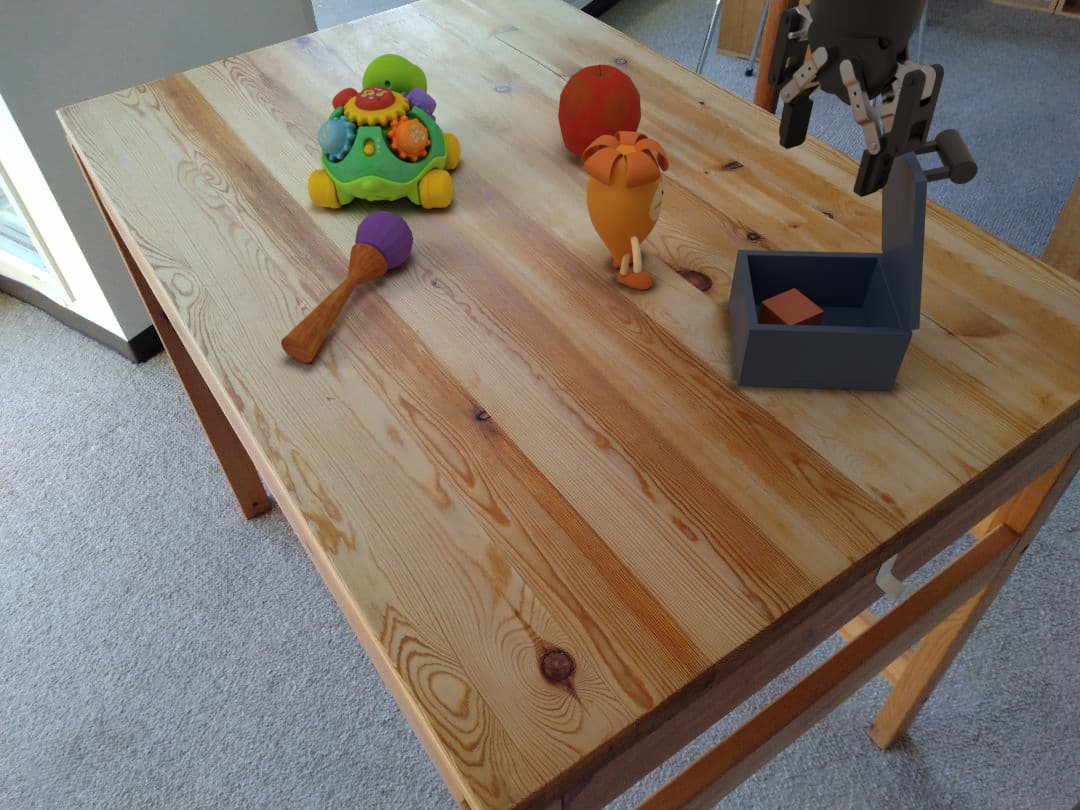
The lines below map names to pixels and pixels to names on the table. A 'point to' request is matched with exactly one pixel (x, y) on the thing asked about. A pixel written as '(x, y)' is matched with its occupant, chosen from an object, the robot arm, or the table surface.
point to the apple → (597, 106)
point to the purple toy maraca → (353, 279)
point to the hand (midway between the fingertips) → (827, 167)
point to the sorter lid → (916, 213)
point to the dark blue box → (844, 333)
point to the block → (790, 310)
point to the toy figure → (625, 197)
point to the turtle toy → (385, 142)
